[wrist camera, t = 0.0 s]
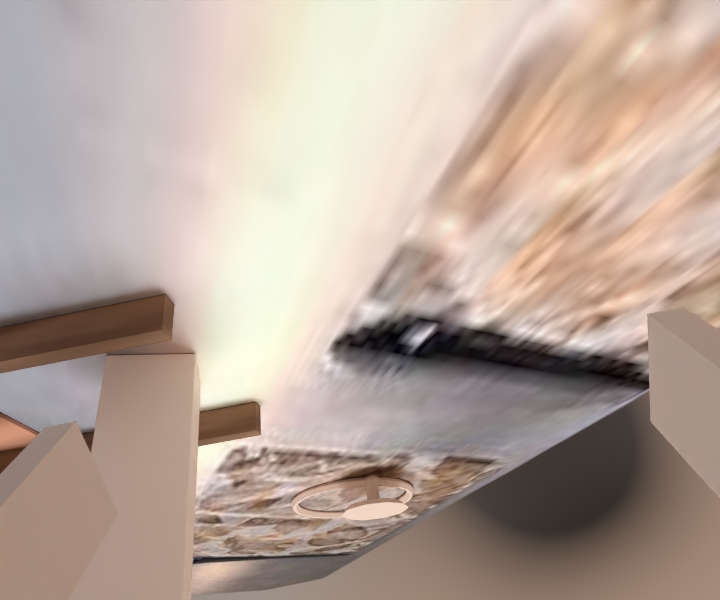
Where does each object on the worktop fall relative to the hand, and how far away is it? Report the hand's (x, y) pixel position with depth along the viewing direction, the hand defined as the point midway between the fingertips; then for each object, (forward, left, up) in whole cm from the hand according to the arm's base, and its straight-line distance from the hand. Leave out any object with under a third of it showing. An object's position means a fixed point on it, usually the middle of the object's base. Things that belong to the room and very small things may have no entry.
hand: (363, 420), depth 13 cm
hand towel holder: (+63, -9, -16) cm, 66 cm away
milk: (+22, -17, -16) cm, 32 cm away
